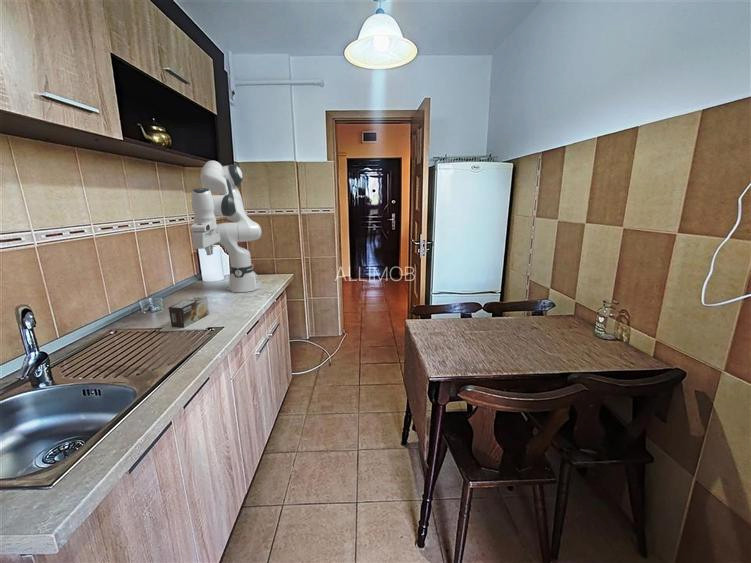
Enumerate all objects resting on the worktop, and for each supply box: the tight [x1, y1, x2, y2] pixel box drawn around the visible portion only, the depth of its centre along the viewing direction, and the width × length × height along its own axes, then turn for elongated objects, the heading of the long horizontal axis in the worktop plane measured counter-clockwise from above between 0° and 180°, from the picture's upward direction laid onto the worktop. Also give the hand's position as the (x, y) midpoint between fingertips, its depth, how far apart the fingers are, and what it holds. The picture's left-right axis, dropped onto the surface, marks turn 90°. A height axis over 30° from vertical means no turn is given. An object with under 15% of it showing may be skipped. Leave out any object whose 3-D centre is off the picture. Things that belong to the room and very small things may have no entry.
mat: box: [159, 314, 221, 332], centre depth 146 cm, size 16×18×1 cm
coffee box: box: [168, 295, 210, 328], centre depth 146 cm, size 9×6×16 cm
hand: (210, 254), depth 157 cm, fingers closed
